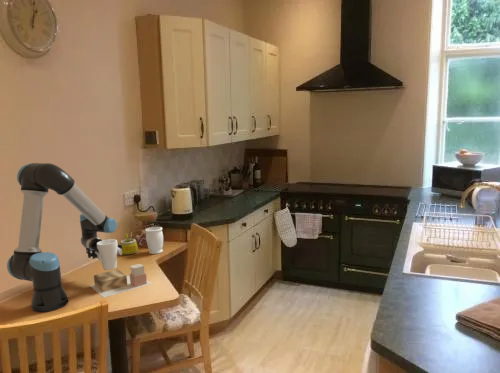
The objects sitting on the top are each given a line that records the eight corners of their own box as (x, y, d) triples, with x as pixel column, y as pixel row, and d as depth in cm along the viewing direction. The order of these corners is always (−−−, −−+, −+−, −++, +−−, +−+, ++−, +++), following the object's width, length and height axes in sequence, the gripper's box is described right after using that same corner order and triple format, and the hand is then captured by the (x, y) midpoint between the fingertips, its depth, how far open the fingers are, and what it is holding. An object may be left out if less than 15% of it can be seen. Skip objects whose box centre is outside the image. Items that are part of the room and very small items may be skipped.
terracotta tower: (135, 286, 210) (133, 268, 208) (130, 283, 214) (128, 266, 213) (146, 283, 213) (145, 265, 212) (142, 280, 218) (140, 263, 216)
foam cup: (96, 270, 209) (92, 244, 207) (106, 264, 217) (103, 239, 215) (113, 271, 206) (110, 245, 204) (123, 264, 215) (120, 239, 213)
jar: (160, 254, 264) (158, 230, 262) (144, 254, 266) (142, 230, 264) (167, 249, 274) (165, 226, 272) (151, 249, 276) (149, 226, 274)
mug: (133, 255, 266) (131, 236, 264) (117, 255, 268) (115, 236, 266) (142, 249, 278) (140, 231, 276) (126, 249, 280) (125, 231, 278)
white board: (103, 300, 199) (103, 297, 199) (90, 288, 215) (90, 285, 215) (152, 286, 213) (152, 283, 213) (136, 276, 229) (136, 273, 229)
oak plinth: (102, 292, 205) (101, 281, 205) (94, 285, 215) (93, 275, 214) (127, 285, 212) (126, 275, 212) (118, 278, 222) (117, 269, 221)
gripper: (117, 247, 233) (133, 256, 215) (74, 257, 220) (88, 268, 202) (116, 233, 231) (132, 242, 214) (73, 243, 219) (86, 252, 201)
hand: (110, 254), depth 208 cm, fingers closed on foam cup, 9 cm apart
